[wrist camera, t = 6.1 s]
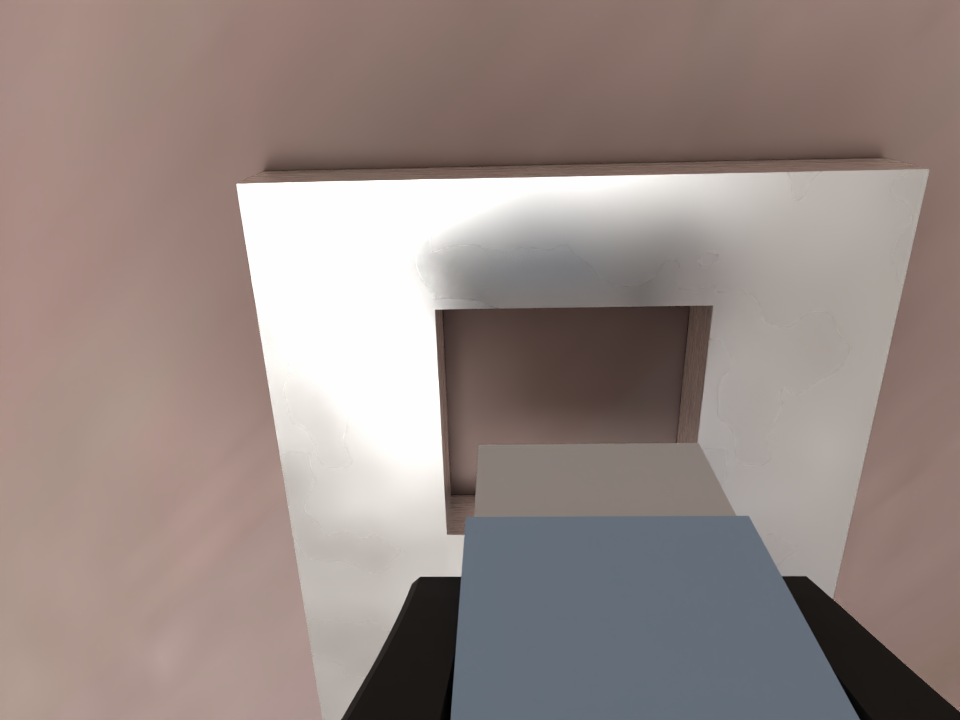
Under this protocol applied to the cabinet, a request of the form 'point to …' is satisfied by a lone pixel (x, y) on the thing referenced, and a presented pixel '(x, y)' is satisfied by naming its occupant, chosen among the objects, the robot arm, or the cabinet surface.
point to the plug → (625, 595)
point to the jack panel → (563, 284)
